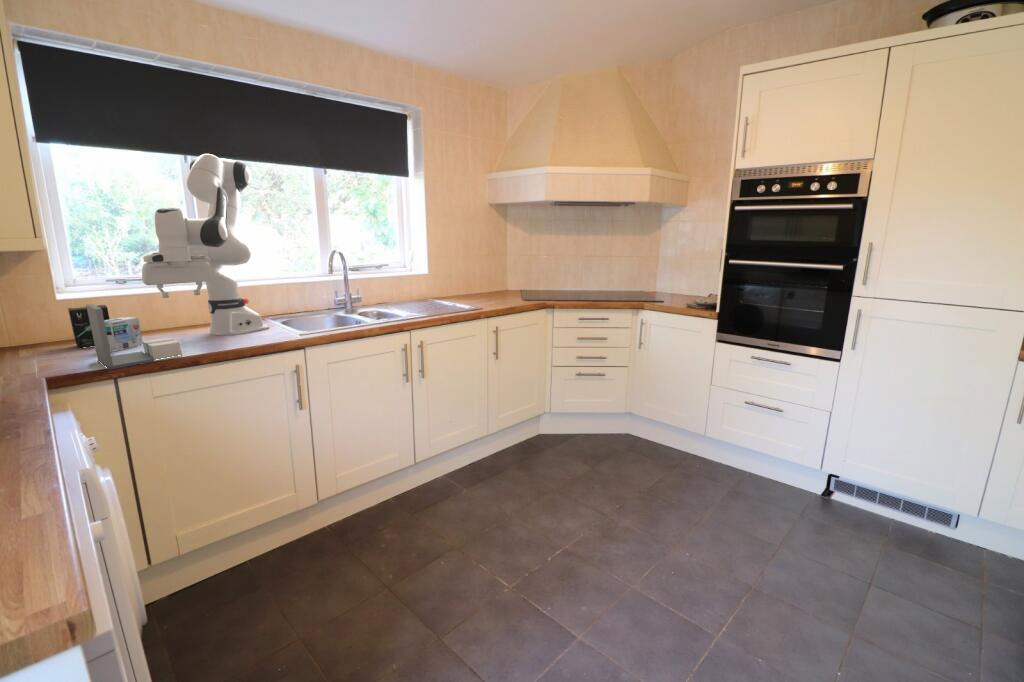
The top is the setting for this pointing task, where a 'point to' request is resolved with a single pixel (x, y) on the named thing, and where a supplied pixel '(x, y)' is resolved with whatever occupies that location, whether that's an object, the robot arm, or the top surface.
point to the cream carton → (162, 348)
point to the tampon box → (84, 325)
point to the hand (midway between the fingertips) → (181, 296)
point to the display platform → (103, 344)
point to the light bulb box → (123, 332)
